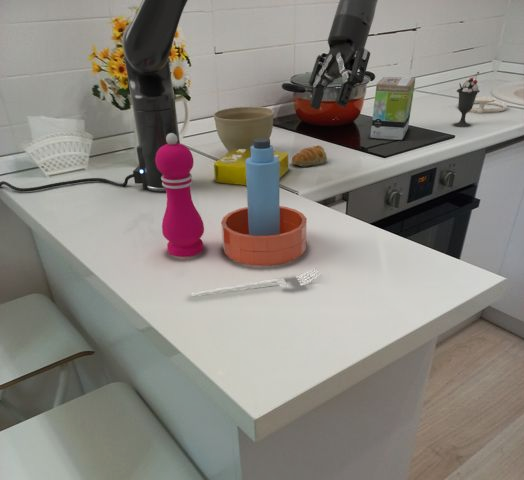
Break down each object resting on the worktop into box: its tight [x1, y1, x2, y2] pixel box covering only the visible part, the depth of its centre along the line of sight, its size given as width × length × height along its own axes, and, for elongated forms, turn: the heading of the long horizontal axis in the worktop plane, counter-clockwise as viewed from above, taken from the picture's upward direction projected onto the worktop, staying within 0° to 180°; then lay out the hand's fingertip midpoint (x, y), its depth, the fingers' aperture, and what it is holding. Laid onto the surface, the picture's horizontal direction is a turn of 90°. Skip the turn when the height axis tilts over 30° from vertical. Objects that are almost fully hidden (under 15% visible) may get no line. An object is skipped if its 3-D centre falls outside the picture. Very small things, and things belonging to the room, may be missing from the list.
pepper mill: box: [156, 133, 205, 258], centre depth 83 cm, size 7×7×20 cm
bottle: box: [246, 138, 281, 236], centre depth 83 cm, size 5×5×18 cm
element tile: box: [213, 149, 289, 186], centre depth 122 cm, size 15×15×5 cm
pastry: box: [291, 145, 328, 168], centre depth 130 cm, size 9×7×4 cm
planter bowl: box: [213, 106, 275, 153], centre depth 136 cm, size 16×16×11 cm
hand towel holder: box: [469, 96, 508, 114], centre depth 178 cm, size 17×4×20 cm
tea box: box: [369, 76, 416, 141], centre depth 150 cm, size 15×10×15 cm
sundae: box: [453, 71, 481, 128], centre depth 156 cm, size 7×7×15 cm
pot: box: [220, 205, 308, 267], centre depth 87 cm, size 15×15×6 cm
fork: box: [191, 267, 321, 297], centre depth 77 cm, size 3×20×2 cm, turn 103°
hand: (327, 106), depth 102 cm, fingers open, 8 cm apart
